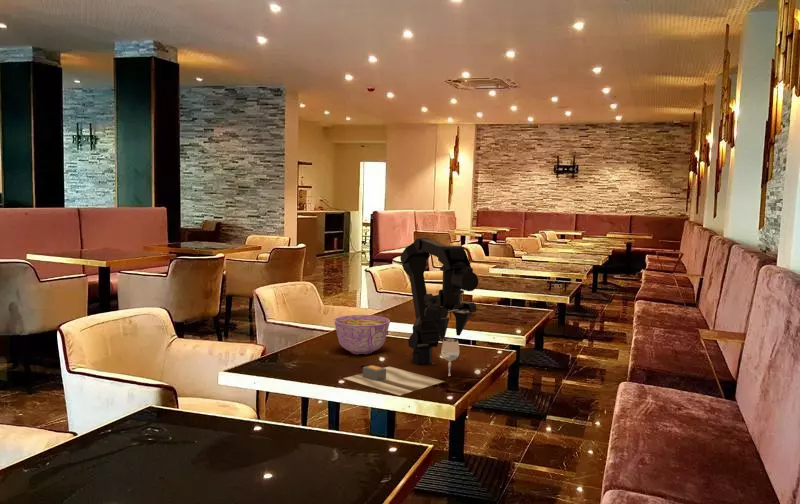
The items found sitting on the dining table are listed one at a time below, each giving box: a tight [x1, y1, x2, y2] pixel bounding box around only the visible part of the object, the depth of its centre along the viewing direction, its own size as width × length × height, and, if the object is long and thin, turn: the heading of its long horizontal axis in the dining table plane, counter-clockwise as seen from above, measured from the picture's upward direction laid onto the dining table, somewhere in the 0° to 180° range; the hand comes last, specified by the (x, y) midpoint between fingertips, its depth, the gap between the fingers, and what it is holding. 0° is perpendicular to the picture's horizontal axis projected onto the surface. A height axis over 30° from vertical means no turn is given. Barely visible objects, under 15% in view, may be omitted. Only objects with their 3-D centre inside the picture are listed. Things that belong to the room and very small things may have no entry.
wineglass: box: [440, 338, 460, 377], centre depth 202 cm, size 6×6×12 cm
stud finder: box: [362, 364, 386, 381], centre depth 198 cm, size 4×6×3 cm, turn 47°
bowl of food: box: [333, 314, 391, 355], centre depth 234 cm, size 20×20×12 cm
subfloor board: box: [343, 366, 445, 396], centre depth 196 cm, size 20×23×1 cm
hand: (450, 337), depth 201 cm, fingers open, 8 cm apart
